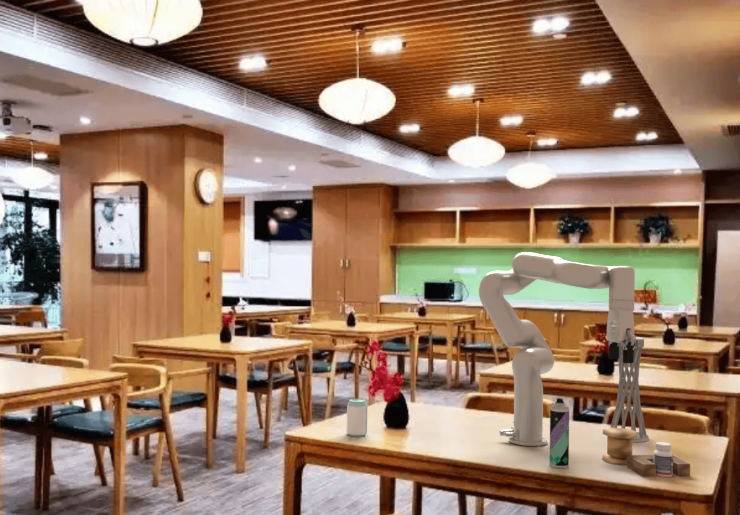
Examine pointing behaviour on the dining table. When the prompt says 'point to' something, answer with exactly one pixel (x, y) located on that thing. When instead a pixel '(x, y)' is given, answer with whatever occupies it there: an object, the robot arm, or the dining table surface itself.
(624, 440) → the wooden spool
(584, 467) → the dining table surface
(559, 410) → the spray can
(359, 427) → the can
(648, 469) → the notched board
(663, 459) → the pill bottle
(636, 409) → the grey lattice tower
